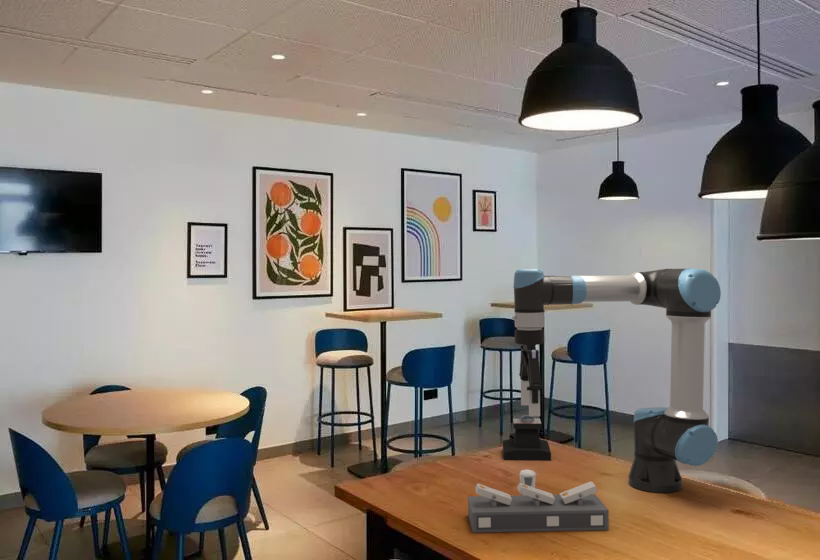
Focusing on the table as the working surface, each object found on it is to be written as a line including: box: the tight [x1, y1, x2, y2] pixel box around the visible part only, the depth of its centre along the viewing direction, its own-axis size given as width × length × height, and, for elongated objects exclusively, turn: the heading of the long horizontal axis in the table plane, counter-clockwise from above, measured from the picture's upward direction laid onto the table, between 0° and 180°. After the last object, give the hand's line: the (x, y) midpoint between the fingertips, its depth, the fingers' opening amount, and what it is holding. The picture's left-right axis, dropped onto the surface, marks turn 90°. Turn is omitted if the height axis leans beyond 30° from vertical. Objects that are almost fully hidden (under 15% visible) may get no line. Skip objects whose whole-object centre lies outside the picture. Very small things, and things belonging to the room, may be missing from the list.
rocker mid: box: [516, 482, 555, 504], centre depth 177 cm, size 9×5×2 cm, turn 91°
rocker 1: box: [474, 482, 512, 505], centre depth 177 cm, size 9×5×2 cm, turn 91°
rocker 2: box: [558, 480, 598, 504], centre depth 177 cm, size 9×5×2 cm, turn 90°
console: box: [467, 493, 610, 533], centre depth 177 cm, size 34×12×6 cm, turn 90°
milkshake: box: [519, 469, 539, 496], centre depth 191 cm, size 4×5×10 cm
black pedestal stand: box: [502, 414, 552, 462], centre depth 240 cm, size 16×14×15 cm
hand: (530, 410), depth 178 cm, fingers open, 13 cm apart
